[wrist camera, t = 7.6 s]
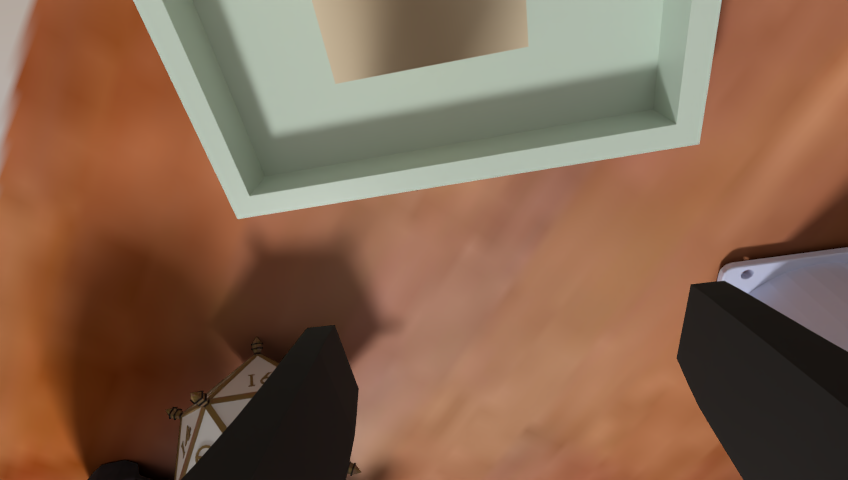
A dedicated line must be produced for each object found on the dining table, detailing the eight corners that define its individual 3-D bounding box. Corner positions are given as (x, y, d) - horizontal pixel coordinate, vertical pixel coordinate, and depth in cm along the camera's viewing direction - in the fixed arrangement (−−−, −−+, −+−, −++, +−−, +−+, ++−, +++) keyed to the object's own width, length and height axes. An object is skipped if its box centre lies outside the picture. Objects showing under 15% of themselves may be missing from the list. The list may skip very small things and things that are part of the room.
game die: (272, 331, 28) (88, 434, 20) (334, 288, 22) (106, 410, 14) (344, 456, 27) (181, 606, 20) (427, 446, 21) (239, 654, 14)
